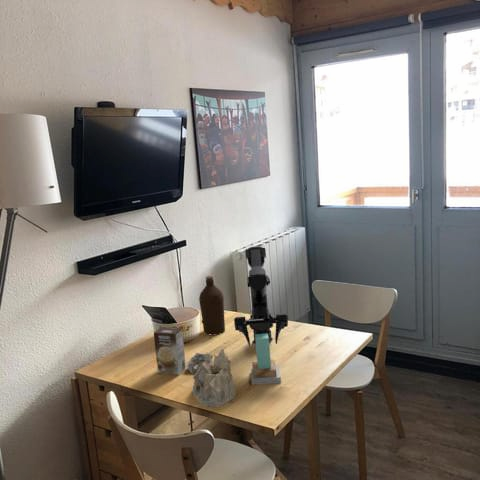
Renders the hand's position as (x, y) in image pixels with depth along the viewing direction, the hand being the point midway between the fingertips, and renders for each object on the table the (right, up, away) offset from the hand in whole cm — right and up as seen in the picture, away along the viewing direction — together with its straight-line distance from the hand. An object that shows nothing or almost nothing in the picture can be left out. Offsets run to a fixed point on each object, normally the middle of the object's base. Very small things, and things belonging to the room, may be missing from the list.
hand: (262, 344), depth 181 cm
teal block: (+1, -8, +3) cm, 8 cm away
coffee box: (-33, -13, +15) cm, 39 cm away
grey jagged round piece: (-17, -16, -5) cm, 24 cm away
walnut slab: (+1, -10, +3) cm, 11 cm away
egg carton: (-23, -12, +17) cm, 31 cm away
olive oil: (-19, -5, +53) cm, 56 cm away
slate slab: (+1, -13, +4) cm, 13 cm away
